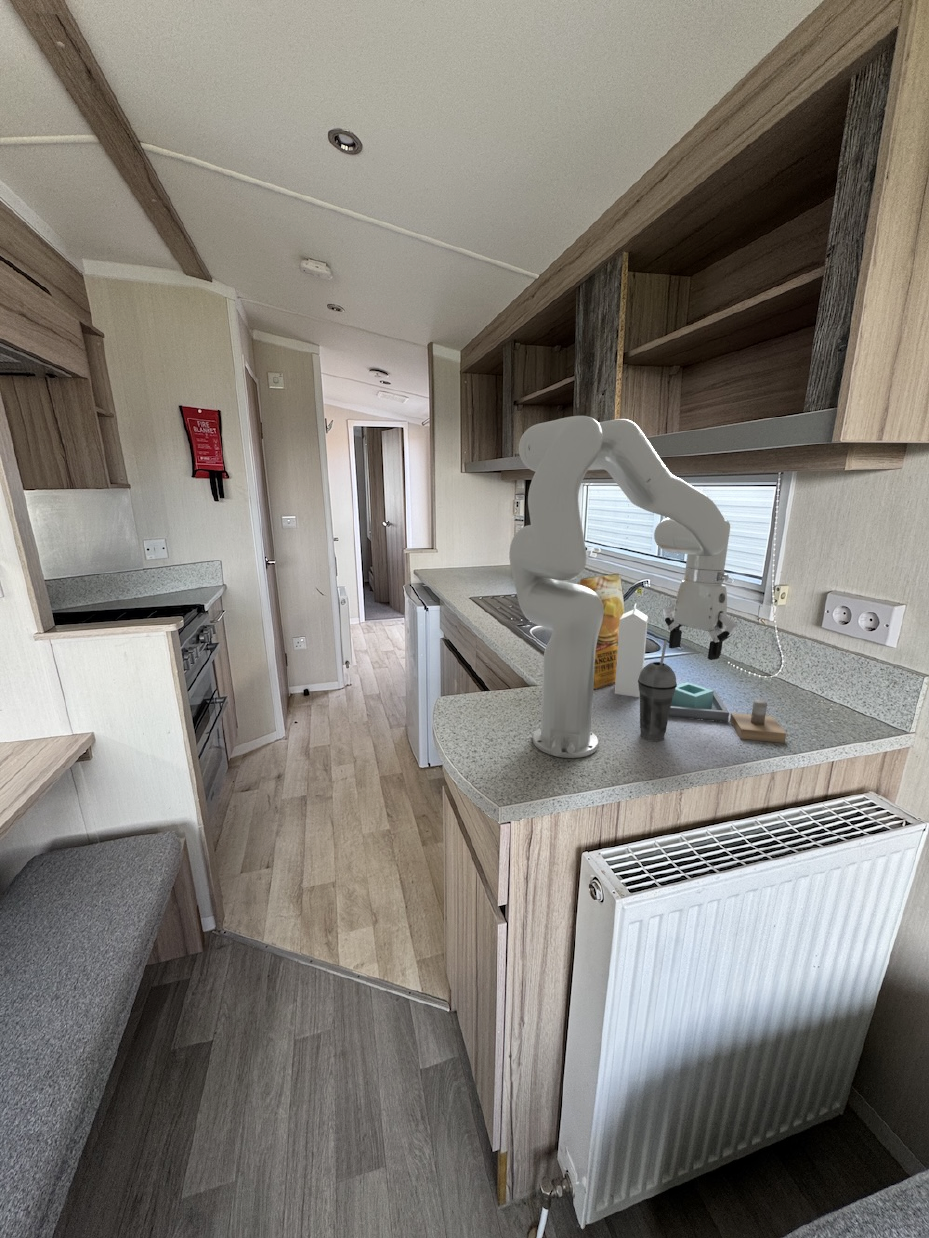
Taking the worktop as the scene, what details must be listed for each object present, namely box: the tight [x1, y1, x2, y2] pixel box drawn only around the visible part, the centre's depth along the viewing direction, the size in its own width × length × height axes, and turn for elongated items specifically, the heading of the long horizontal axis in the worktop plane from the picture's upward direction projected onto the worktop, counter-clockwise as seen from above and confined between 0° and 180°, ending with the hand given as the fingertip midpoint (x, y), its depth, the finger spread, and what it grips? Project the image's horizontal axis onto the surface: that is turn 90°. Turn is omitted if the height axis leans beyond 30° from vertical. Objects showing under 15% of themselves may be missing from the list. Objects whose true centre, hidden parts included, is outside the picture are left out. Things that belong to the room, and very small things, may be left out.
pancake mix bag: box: [577, 573, 626, 690], centre depth 129 cm, size 7×19×28 cm, turn 124°
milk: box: [614, 603, 649, 698], centre depth 123 cm, size 6×6×22 cm
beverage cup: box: [638, 640, 678, 742], centre depth 100 cm, size 7×7×20 cm
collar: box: [671, 681, 714, 709], centre depth 116 cm, size 7×9×4 cm
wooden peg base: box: [729, 699, 787, 744], centre depth 103 cm, size 8×8×6 cm
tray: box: [669, 689, 730, 723], centre depth 116 cm, size 13×13×2 cm
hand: (693, 653), depth 113 cm, fingers open, 9 cm apart
